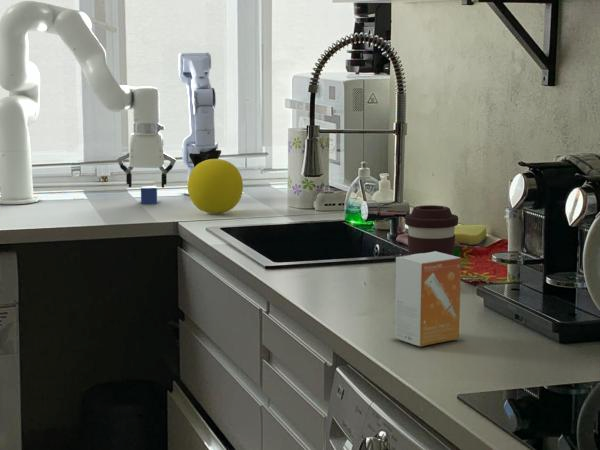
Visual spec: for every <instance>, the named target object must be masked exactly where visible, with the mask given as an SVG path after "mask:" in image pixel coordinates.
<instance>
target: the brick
mask: <svg viewBox="0 0 600 450" xmlns="http://www.w3.org/2000/svg"><path fill="white" fill-rule="evenodd" d="M140 204H141V205H152V204H153V205H156V204H158V186H157V185H141V186H140Z"/></svg>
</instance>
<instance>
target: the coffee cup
mask: <svg viewBox="0 0 600 450" xmlns="http://www.w3.org/2000/svg"><path fill="white" fill-rule="evenodd" d="M404 225H406V226H407V227H408V228H407V230H408V233H407V251H408V253H407V254H408V256H409V255H413V254H420V253H429V252H434V251H436V252H440V253H444V254H448V255H452V256H455V244H456V243H455V242H456V235H455V229H456V228H455V227H456V226H458V225H459V216H458V215H456V214H453V213H452V211H451V208H450V207H448V206H444V205H437V204H436V205H434V204H433V205H431V204H429V205H426V204H425V205H418V206H414V207H413V208H412V210H411V213H408V214H406V215H405V216H404Z"/></svg>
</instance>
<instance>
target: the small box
mask: <svg viewBox="0 0 600 450" xmlns="http://www.w3.org/2000/svg"><path fill="white" fill-rule="evenodd" d="M461 272H462V257H460V256H455V255H454V256H452V255H448V254H444V253H440V252H436V251H434V252H429V253H420V254H413V255H409V254H408V255H402V256H396V257H395V306H394V308H395V309H394V310H395V311H394V312H395V313H394V321H395V322H394V338H395V339H397V340H399V341H402V342H405V343H408V344H411V345H414V346H416V347H417V346H418V347H424V346H425V347H426V346H428V345H434V344H438V343H444V342H450V341H456V340H459V339H460V319H461V318H460V314H461V313H460V312H461V280H462V279H461V278H462V277H461V274H462V273H461Z"/></svg>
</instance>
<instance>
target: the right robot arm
mask: <svg viewBox="0 0 600 450" xmlns="http://www.w3.org/2000/svg"><path fill="white" fill-rule="evenodd" d="M177 60H178V61H177V63H178V76H179V81H180V82H182V83H183V84H185V86H186V89H187V98H188V101H187V102H188V116H189V133H190V134H189V135H187V137H186V136H185V138H184V139H183V140H182V143H181V147H182V148H181V157H182V164H184V165H186V171H187V180H188V179H189V176H190V173H191V171H192V170H193V168H194V167H195V166H196V165H198V164H199V163H201V162H203V161H205V160H209V159H220V156H221V154H222V150H221V149H219V142H216V135H215V133H216V132H215V131H216V129H215V108H216V104H217V94H216V90H215V88H214V87H212V84H211V79H210V76H211V71H212V56H211V54H210V53H209V52H208V51H207V52H180V53H179V54H178V58H177ZM181 195H189V193H188V191H183V192H181Z"/></svg>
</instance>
